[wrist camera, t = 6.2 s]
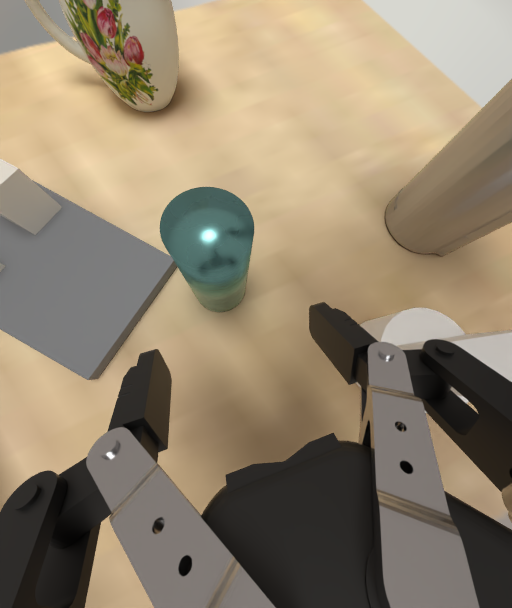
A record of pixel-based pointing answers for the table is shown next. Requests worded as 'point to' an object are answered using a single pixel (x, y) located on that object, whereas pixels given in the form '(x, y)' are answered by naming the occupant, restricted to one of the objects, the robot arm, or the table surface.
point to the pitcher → (123, 45)
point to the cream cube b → (24, 200)
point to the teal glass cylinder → (210, 244)
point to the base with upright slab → (442, 337)
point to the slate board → (76, 286)
